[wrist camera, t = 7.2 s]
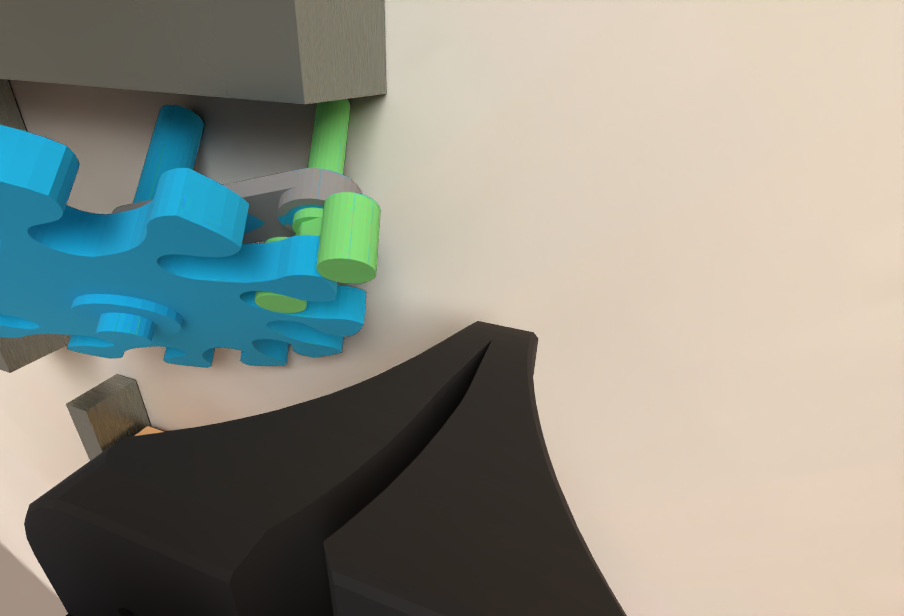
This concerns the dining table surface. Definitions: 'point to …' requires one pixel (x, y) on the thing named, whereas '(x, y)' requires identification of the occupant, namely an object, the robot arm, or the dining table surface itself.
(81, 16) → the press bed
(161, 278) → the gear
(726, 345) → the dining table surface
